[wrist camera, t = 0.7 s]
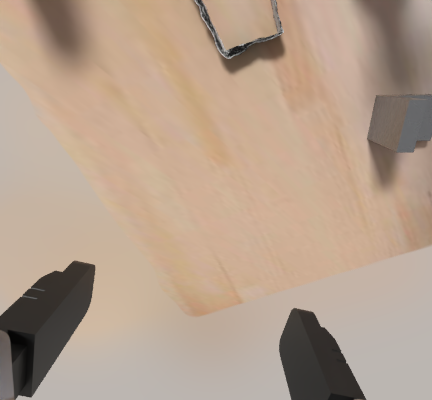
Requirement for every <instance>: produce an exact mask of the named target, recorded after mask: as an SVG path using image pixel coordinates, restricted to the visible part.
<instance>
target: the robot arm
mask: <svg viewBox="0 0 432 400" xmlns="http://www.w3.org/2000/svg"><path fill="white" fill-rule="evenodd" d="M94 275H95V265H93V264H88V263H83V262H78V261H73V262H72V263H71V264H70V265H69V266H68V267H67V268H66V269H65V270H64V271H63V272H59V271H54V272H52V273H50V274H47V275H45V276H43V277H42V278H40V279H39V280H38V281H37V282H36V283H35V284H34V285H33V286H32V287H31V289H28V290H27V291H26V292H25V294H23V296H22V297H20V298H19V299H18V300H17V301H16V302H15V303H14V304H13V305H11V306H10V307H9V308H8V310H6V311H5V312H4V313H3V314H2V315H1V316H0V400H15V399H16V398H17V397H18V395H21V396H26V397H32V396H33V394H34V393H35V391H36V389H37V388H38V386H39V385H40V383H41V382H42V380H43V379H44V377H45V376H46V374H47V373H48V371H49V370H50V368H51V367H52V365H53V364H54V362H55V360H56V359H57V357H58V356H59V354H60V353H61V351H62V350H63V348H64V347H65V345H66V343H67V342H68V341H69V339H70V337H71V336H72V334H73V333H74V331H75V329H76V328H77V327H78V325H79V324H80V322H81V321H82V319H83V317H84V316H85V314H86V312H87V310H88V308H89V305H90V302H91V298H92V291H93V283H94ZM279 352H280V357H281V361H282V365H283V368H284V372H285V376H286V380H287V384H288V388H289V392H290V396H291V400H366V398H365V396H364V394H363V392H362V391H361V389H360V387H359V385H358V383H357V381H356V379H355V377H354V375H353V373H352V371H351V369H350V367H349V366H348V364H347V363H346V360H345V358H344V356H343V354H342V353H341V350H340V348H339V346H338V344H337V342H336V340H335V339H334V338H333V337H332V335H331V334H330V333H329V332H328V331H327V330H326V329H325V328H323V327H321V326H320V324H319V322H318V320H317V318H316V316H315V314H314V313H313V312H310V311H306V310H301V309H296V308H294V309H293V310H292V311H291V313H290V315H289V318H288V320H287V323H286V326H285V328H284V331H283V333H282V336H281V339H280V345H279Z"/></svg>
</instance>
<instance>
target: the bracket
mask: <svg viewBox="0 0 432 400" xmlns="http://www.w3.org/2000/svg"><path fill="white" fill-rule="evenodd" d="M431 136H432V94H426V95H376V98H375V103H374V108H373V113H372V118H371V122H370V127H369V132H368V137H367V139H369V140H371V141H373V142H375V143H377V144H379V145H382V146H384V147H386V148H388V149H390V150H392V151H394V152H414V149H415V145H416V142H417V141H430V140H431Z"/></svg>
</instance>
